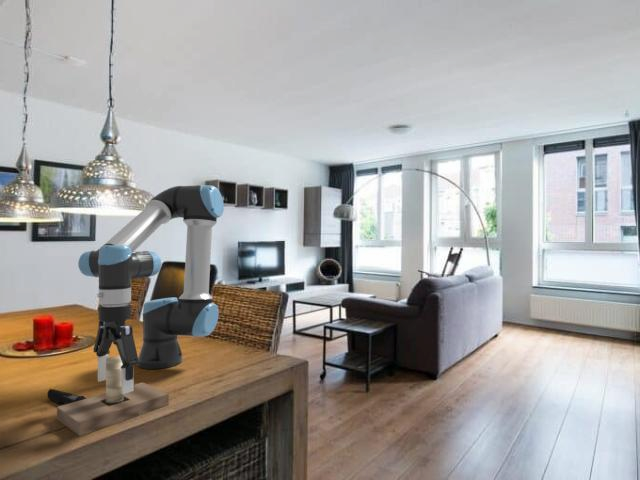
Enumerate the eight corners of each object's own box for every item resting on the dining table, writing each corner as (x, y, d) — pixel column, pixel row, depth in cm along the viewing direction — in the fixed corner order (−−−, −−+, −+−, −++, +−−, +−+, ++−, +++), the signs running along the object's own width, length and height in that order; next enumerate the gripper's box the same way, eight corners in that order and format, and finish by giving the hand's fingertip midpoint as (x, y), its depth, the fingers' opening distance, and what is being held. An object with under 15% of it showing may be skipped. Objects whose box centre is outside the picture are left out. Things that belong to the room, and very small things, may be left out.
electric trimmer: (57, 397, 115) (57, 386, 115) (91, 406, 108) (91, 394, 108) (43, 401, 111) (43, 390, 111) (77, 412, 104) (77, 400, 104)
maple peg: (119, 407, 107) (119, 354, 107) (126, 411, 104) (126, 357, 104) (102, 412, 103) (102, 358, 103) (109, 416, 101) (109, 361, 101)
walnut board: (142, 392, 117) (142, 382, 117) (168, 405, 108) (168, 394, 108) (57, 418, 100) (57, 406, 99) (79, 436, 91) (79, 423, 91)
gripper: (79, 301, 108) (79, 379, 109) (122, 312, 93) (123, 402, 93) (108, 298, 114) (108, 371, 114) (153, 307, 99) (153, 393, 99)
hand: (115, 386), depth 104 cm, fingers open, 13 cm apart
